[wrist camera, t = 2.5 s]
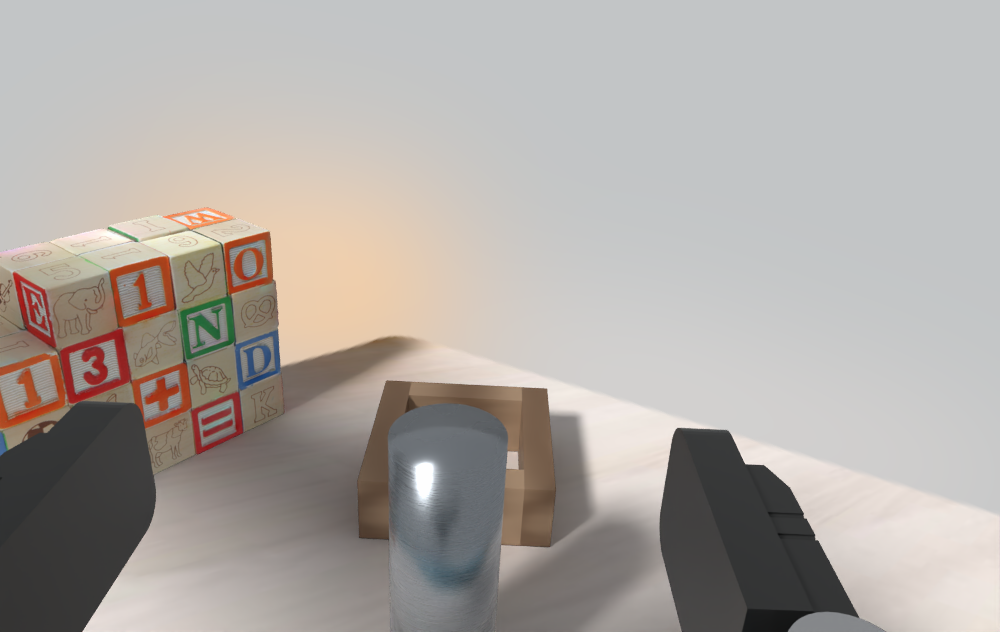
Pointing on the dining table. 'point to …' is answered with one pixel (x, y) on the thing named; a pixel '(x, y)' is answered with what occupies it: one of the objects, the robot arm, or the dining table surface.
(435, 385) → the wooden square frame
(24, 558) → the robot arm
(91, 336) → the stack of blocks
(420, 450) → the brushed steel post
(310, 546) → the dining table surface
